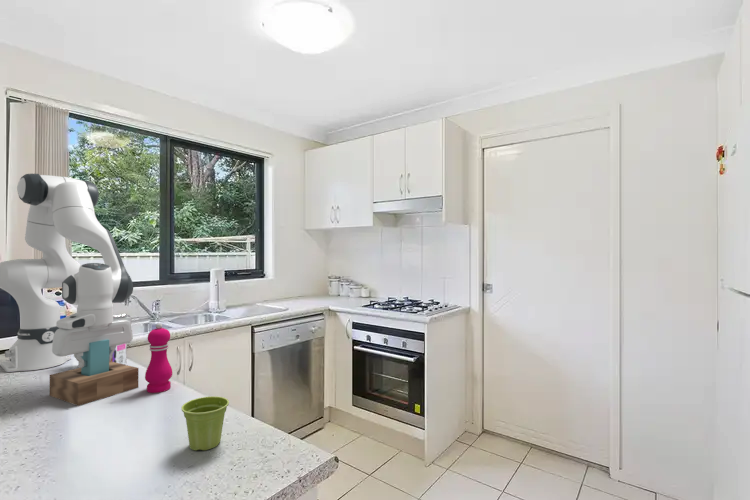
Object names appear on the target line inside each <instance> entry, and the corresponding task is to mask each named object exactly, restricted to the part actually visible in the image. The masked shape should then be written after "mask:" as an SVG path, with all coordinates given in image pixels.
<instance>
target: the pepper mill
mask: <svg viewBox="0 0 750 500" xmlns="http://www.w3.org/2000/svg"><path fill="white" fill-rule="evenodd" d="M170 340H171V333H170V331H169V330H168V329H166V328H164V327H163V324H162V322H158V323H156V325H155V328H154V329H152V330H151V331H150V332H149V333H148V335H147V342H148V343H149V344H150V345H149V351H150V353H151V354H150V361H149V364H148V366H147V368H146V370H145V375H144V379H145V381H146V382H147V384H146V392H148V393H150V394H157V393H163V392H167V391H168V390H170V389H171V385H172V384H171V383H172V382H171V381H170V379H171V378H172V377H173V368H172V366H171V364H170V362H169V360H168V354H167V351H168V349H169V343H168V342H169V341H170Z"/></svg>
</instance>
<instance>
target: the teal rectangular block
mask: <svg viewBox="0 0 750 500" xmlns="http://www.w3.org/2000/svg"><path fill="white" fill-rule="evenodd" d="M81 357H82V359H83V360H85V361H87V367H83V368H81V374H82V375H85V376H92V375H96V374H100V373H104V372H108V371H109V340H108V339H107V340H102V341H96V342H91V343H89V351H87V352H83V356H81Z"/></svg>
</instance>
